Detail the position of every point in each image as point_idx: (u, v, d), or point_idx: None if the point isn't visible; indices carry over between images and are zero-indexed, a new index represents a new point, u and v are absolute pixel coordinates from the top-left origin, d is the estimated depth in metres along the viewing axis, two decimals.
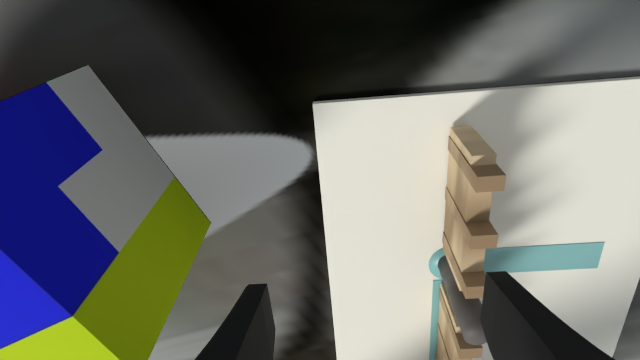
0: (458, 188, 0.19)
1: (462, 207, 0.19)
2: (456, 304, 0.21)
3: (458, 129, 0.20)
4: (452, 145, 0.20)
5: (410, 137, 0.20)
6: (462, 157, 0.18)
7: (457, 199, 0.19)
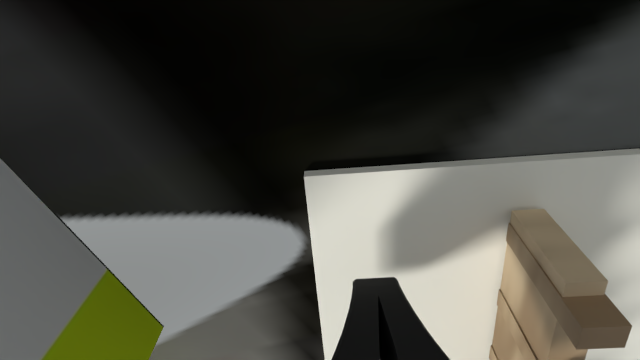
0: (528, 309, 0.12)
1: (536, 344, 0.12)
2: None
3: (526, 216, 0.13)
4: (516, 240, 0.13)
5: (449, 223, 0.14)
6: (541, 272, 0.11)
7: (525, 323, 0.13)
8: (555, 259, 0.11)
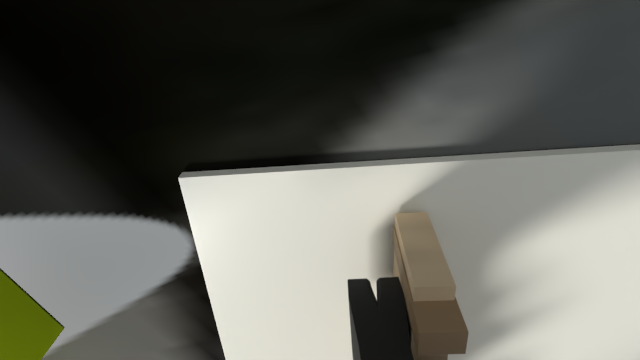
0: None
1: None
2: None
3: (406, 219, 0.13)
4: (396, 243, 0.13)
5: (330, 226, 0.14)
6: (404, 275, 0.11)
7: None
8: (415, 263, 0.11)
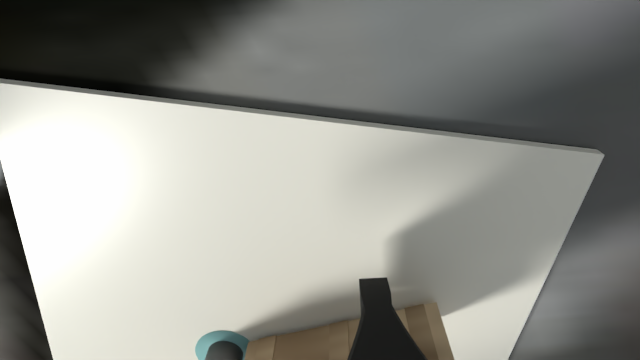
0: None
1: None
2: None
3: None
4: (421, 320, 0.14)
5: (151, 166, 0.13)
6: None
7: None
8: None
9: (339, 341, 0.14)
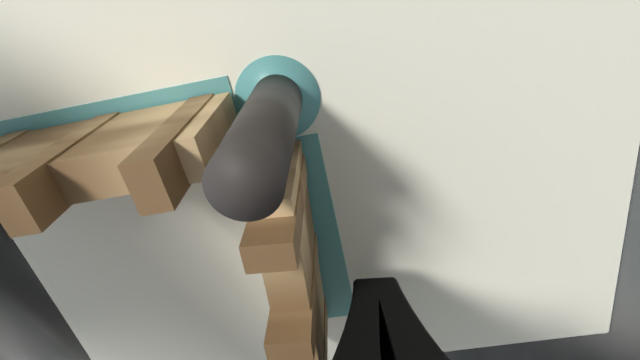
0: (319, 316, 0.12)
1: (316, 321, 0.11)
2: (267, 118, 0.08)
3: None
4: (326, 323, 0.14)
5: None
6: None
7: (316, 301, 0.12)
8: None
9: (316, 259, 0.13)
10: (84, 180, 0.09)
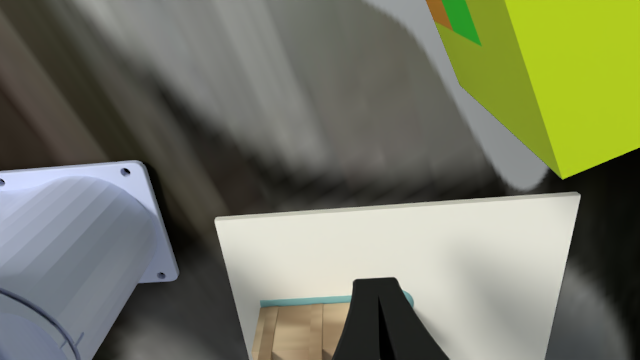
0: None
1: None
2: None
3: None
4: None
5: (529, 266, 0.24)
6: None
7: None
8: None
9: None
10: (333, 354, 0.23)
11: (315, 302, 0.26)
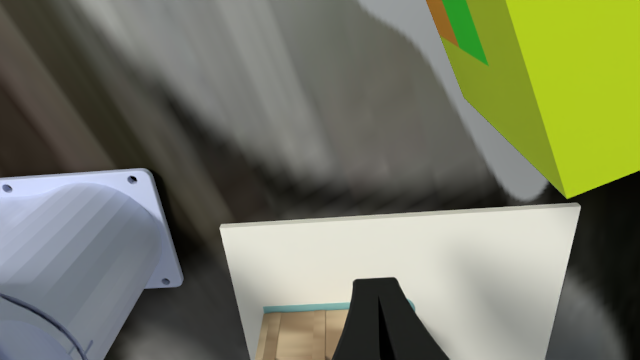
0: None
1: None
2: None
3: None
4: None
5: (529, 274, 0.25)
6: None
7: None
8: None
9: None
10: None
11: (318, 308, 0.26)
